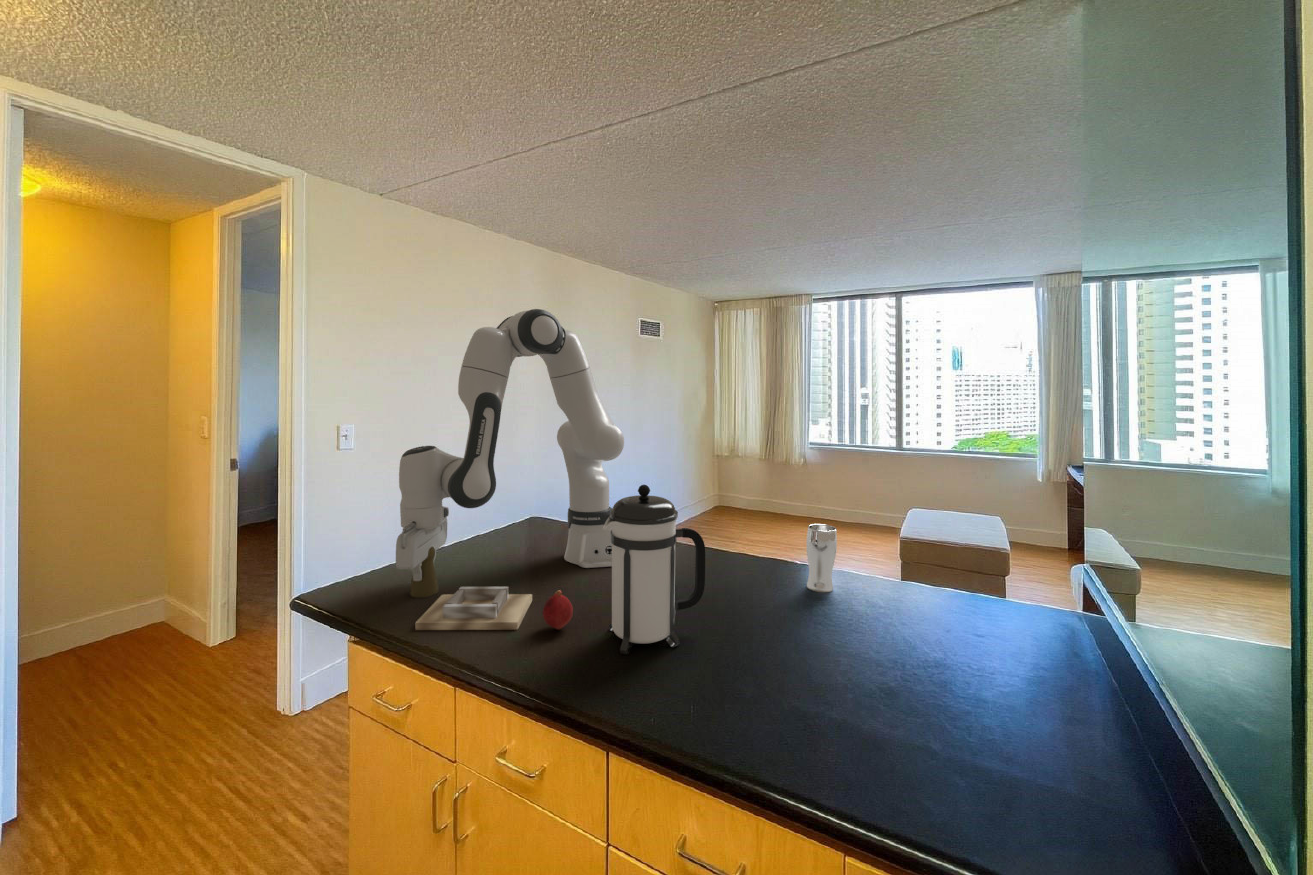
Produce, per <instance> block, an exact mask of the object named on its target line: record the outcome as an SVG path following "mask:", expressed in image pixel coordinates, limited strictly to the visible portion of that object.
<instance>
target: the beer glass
mask: <svg viewBox="0 0 1313 875" xmlns="http://www.w3.org/2000/svg"><path fill="white" fill-rule="evenodd" d="M837 543H838V536H837V527H835V526H833V525H830V524H825V523H824V524H823V523H812V524H809V525H808V526H807V534H806V557H807V564H808V579H807V582H806V587H807V589H809V590H810V591H813V592H816V593H823V594H824V593H830V592H832V591H833V590H834V586H833V578H832V577H833V575H832V574H833V568H834V563H835V560H836V556H837V546H838V544H837Z"/></svg>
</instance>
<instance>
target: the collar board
mask: <svg viewBox="0 0 1313 875" xmlns="http://www.w3.org/2000/svg"><path fill="white" fill-rule="evenodd" d="M532 602H533V594H531V593H527V594H526V593H521V594H520V593H516V594H515V593H509V586H460V587H459V588H458V589H457V590H456V592H454V594H453V593H452V594H448V593H447V594H441V595H440V596H439V597H438V598H437V599H436V600H435V601H434V603H433V604H431V606H429V608H428V609H427V610H426V611H425V612H424V613H423V614H422V615H421V616H420V617H419V618H418V619H417V620H416V621H415V622H414V626H415V631H468V630H469V631H474V630H475V631H476V630H477V631H482V630H483V631H486V630H488V631H490V630H491V631H492V630H493V631H495V630H497V631H498V630H499V631H500V630H501V631H502V630H503V631H504V630H506V631H508V630H510V631H511V630H518V629H519V628H520V626H521V624H522V622H523V620H524V618H525V616H526V613H527V612H528V610H529V608H530V605H531V603H532Z"/></svg>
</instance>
